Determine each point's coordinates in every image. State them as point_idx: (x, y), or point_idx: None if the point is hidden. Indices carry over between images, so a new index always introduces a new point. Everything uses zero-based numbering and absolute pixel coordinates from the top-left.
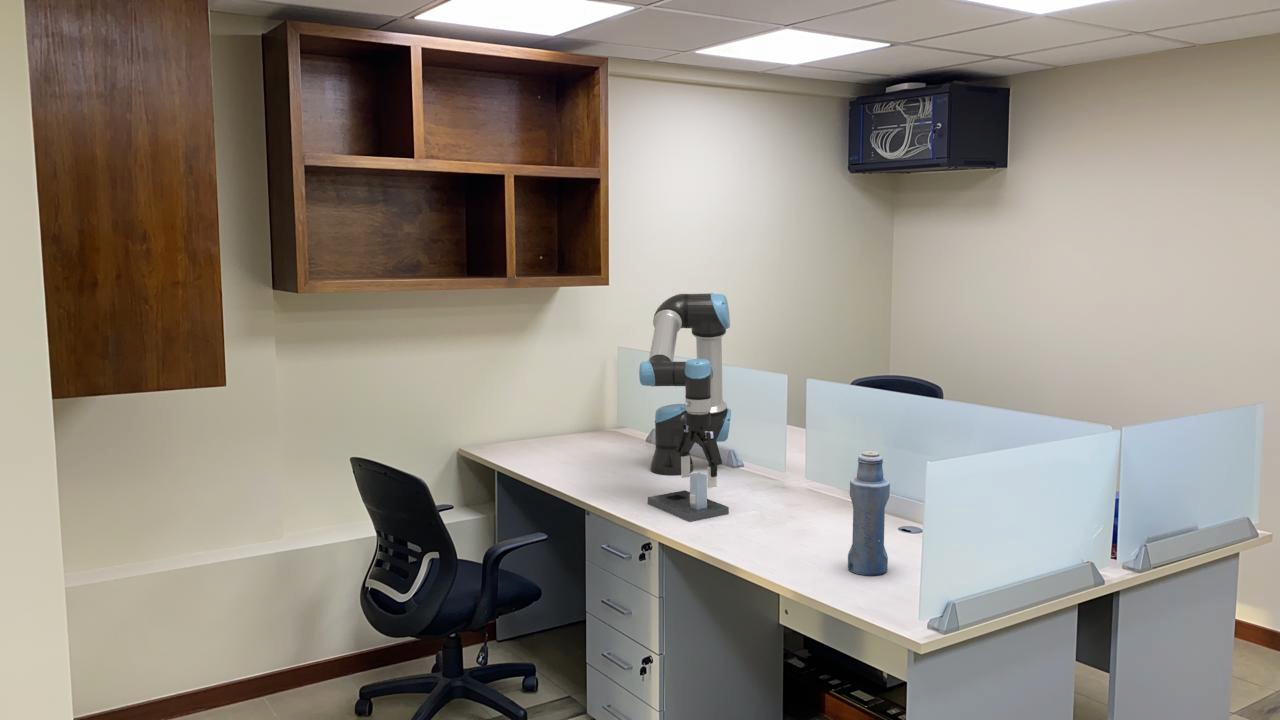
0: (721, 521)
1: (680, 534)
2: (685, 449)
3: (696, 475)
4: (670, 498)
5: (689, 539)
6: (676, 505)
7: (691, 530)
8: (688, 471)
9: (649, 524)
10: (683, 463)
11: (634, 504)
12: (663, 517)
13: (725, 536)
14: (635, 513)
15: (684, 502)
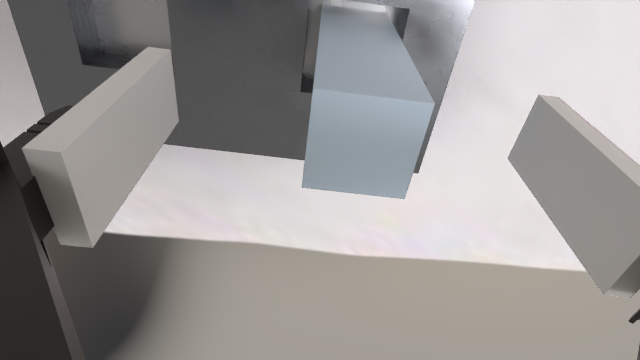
0: (496, 11)
1: (458, 234)
2: (74, 335)
3: (377, 181)
4: (81, 23)
5: (516, 244)
6: (261, 125)
7: (462, 187)
8: (153, 84)
9: (300, 235)
10: (127, 186)
11: (20, 128)
12: (260, 159)
13: (623, 150)
14: (153, 196)
15: (238, 59)
